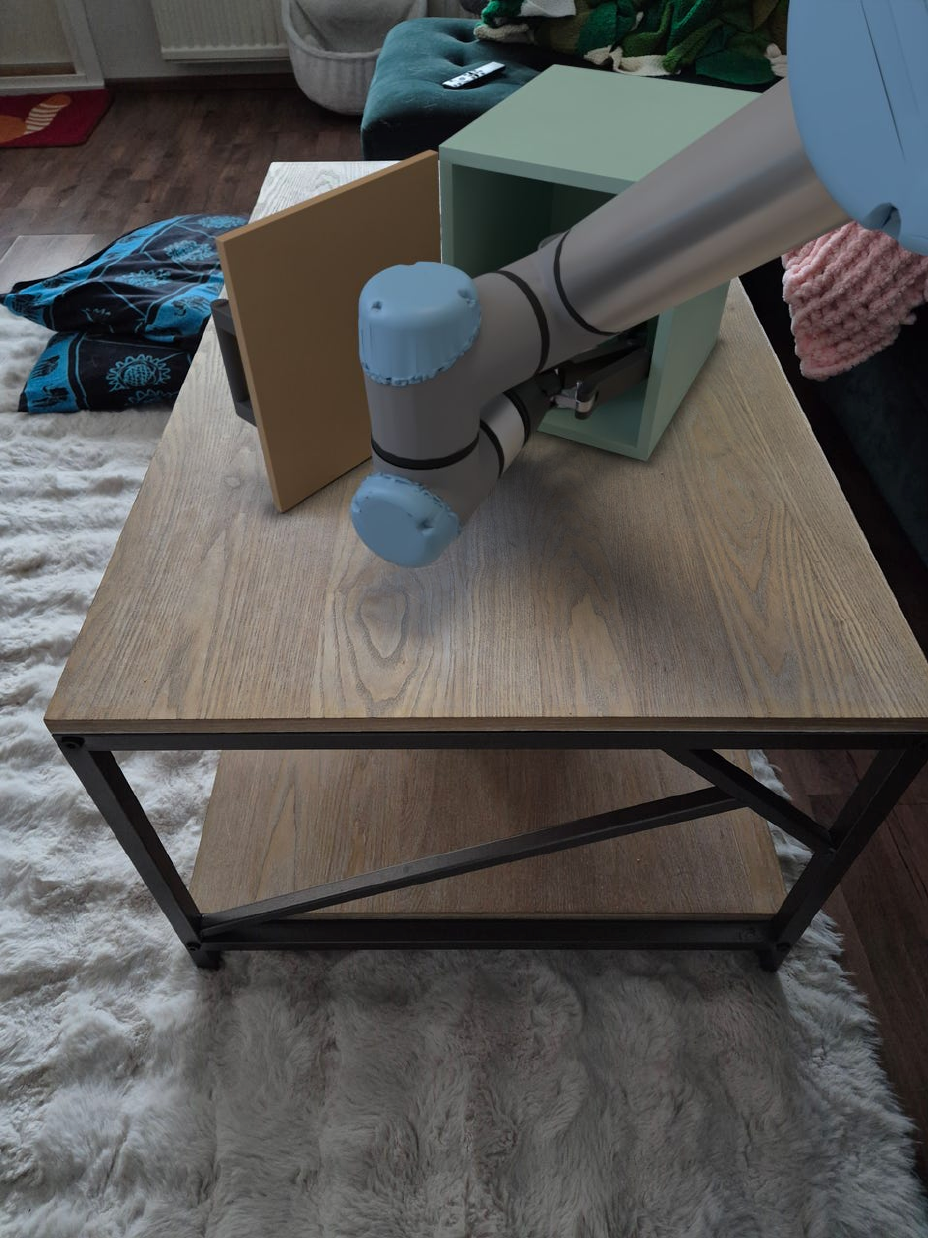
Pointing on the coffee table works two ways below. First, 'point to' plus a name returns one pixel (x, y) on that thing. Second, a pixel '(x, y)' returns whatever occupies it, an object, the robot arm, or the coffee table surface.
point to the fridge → (583, 212)
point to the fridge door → (317, 316)
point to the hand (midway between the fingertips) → (582, 302)
